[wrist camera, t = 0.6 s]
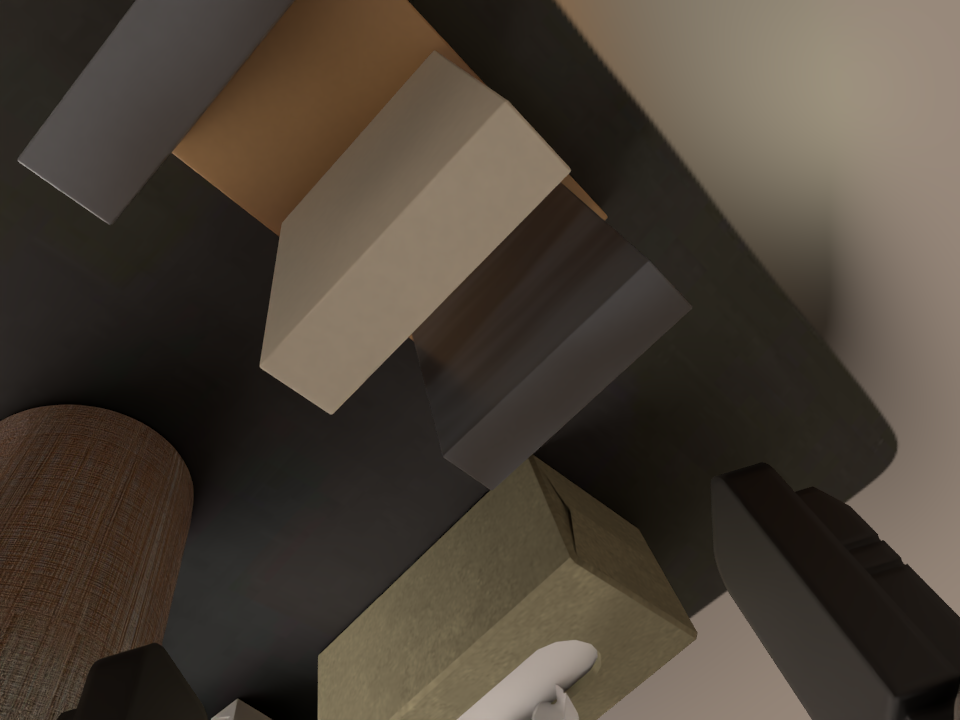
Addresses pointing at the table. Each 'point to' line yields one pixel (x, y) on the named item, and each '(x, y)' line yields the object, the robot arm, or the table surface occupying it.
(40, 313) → the table surface
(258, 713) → the die
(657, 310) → the grey book rack
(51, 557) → the planter
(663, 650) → the tissue box
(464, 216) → the cream book
